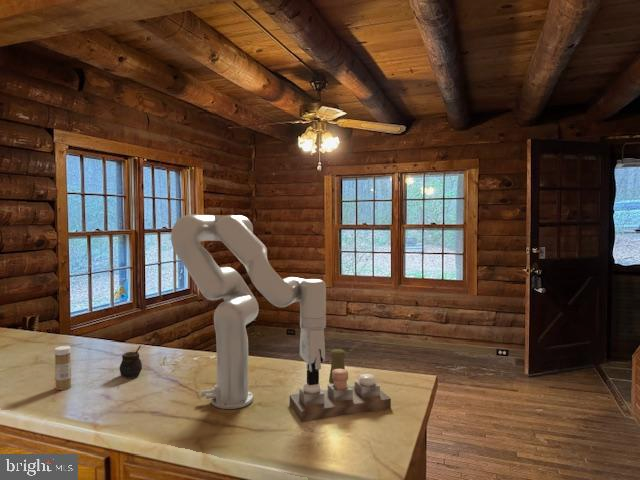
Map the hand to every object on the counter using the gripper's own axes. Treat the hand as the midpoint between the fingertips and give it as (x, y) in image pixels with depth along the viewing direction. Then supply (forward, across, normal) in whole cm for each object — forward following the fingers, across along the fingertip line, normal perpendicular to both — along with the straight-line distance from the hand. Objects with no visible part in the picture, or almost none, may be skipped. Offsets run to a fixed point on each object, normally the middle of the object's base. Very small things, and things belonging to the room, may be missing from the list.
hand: (312, 383), depth 126 cm
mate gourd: (+8, -46, -52) cm, 70 cm away
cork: (+8, -19, +16) cm, 26 cm away
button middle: (+2, 0, +9) cm, 9 cm away
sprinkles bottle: (+8, -41, -72) cm, 84 cm away
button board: (+8, 0, +9) cm, 12 cm away
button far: (+5, 0, +18) cm, 18 cm away
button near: (+5, 0, 0) cm, 5 cm away
